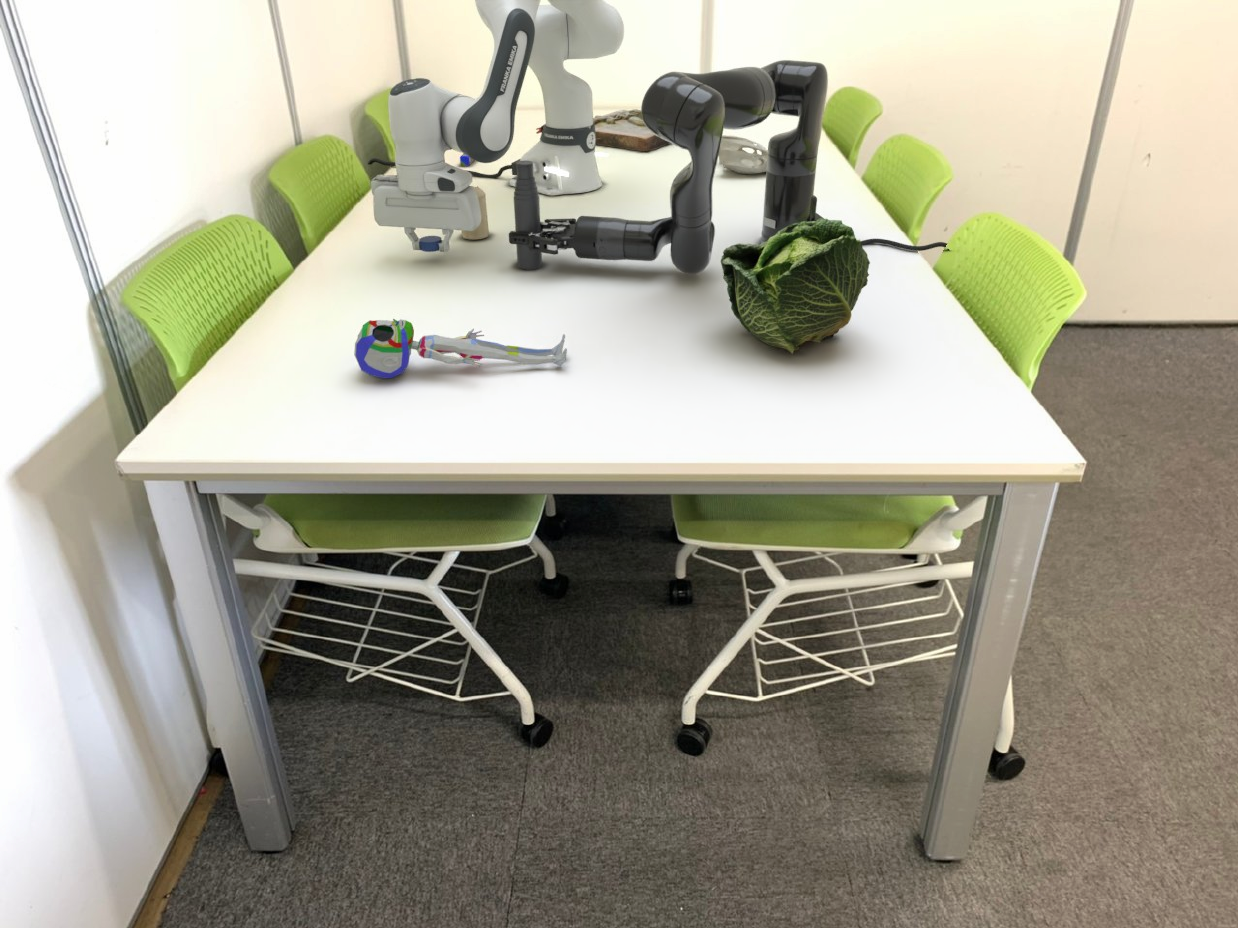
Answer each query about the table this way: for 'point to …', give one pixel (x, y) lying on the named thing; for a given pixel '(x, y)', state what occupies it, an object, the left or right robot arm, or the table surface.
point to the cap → (430, 243)
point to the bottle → (527, 214)
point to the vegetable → (797, 282)
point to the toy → (435, 349)
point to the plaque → (626, 131)
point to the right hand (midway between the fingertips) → (514, 233)
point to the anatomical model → (742, 155)
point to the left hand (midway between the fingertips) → (431, 250)
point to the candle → (482, 229)
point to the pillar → (465, 160)
